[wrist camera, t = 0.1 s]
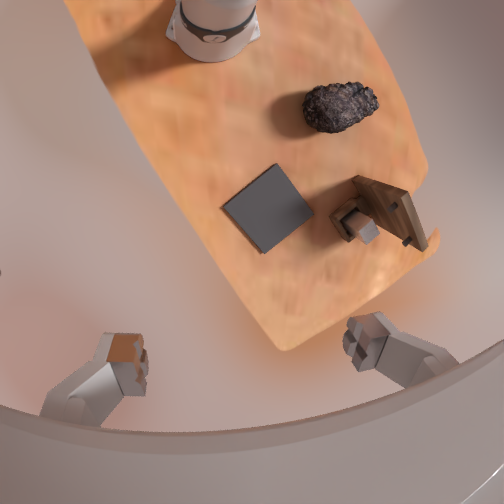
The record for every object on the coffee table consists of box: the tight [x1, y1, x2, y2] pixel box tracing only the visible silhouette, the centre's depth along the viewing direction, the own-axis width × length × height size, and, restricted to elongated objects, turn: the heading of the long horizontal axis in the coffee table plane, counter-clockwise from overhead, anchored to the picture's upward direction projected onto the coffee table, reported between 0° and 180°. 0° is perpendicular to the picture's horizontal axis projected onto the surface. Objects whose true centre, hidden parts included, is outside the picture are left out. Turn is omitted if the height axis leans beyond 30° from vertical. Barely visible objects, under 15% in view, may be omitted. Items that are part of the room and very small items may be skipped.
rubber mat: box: [223, 163, 314, 254], centre depth 58 cm, size 14×14×1 cm
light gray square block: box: [339, 209, 380, 245], centre depth 58 cm, size 4×4×10 cm
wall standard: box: [329, 175, 428, 252], centre depth 54 cm, size 12×14×18 cm
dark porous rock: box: [302, 82, 379, 134], centre depth 47 cm, size 10×18×10 cm, turn 118°
